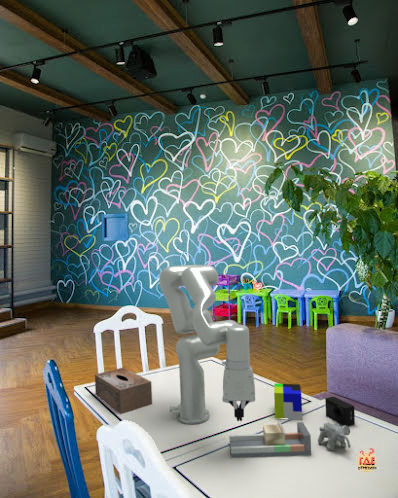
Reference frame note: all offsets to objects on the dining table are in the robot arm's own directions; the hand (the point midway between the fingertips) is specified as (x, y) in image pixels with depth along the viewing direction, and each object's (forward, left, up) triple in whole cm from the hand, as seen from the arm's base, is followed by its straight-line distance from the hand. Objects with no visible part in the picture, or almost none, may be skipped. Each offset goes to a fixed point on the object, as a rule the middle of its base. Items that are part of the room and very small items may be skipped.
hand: (239, 419), depth 127 cm
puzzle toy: (+21, +25, -10) cm, 34 cm away
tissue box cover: (-47, +44, -10) cm, 65 cm away
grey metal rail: (+9, 0, -10) cm, 14 cm away
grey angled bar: (+21, 0, -9) cm, 23 cm away
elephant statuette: (+31, -1, -10) cm, 33 cm away
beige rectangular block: (+11, 0, -8) cm, 14 cm away
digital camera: (+38, +18, -10) cm, 43 cm away
